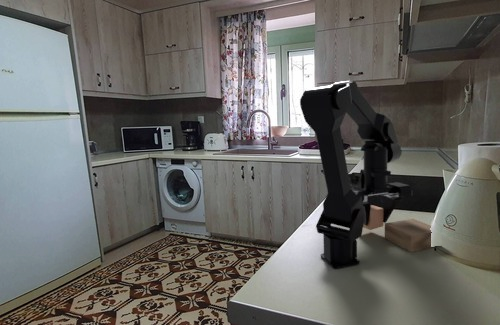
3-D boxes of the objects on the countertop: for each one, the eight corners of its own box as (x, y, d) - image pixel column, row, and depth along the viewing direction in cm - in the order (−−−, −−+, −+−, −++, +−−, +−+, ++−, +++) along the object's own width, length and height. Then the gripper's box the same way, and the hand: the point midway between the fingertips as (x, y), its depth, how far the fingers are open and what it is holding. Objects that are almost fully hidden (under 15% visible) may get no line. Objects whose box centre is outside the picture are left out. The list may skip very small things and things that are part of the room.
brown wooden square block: (410, 252, 69) (411, 235, 69) (384, 237, 78) (384, 223, 77) (441, 246, 71) (442, 230, 71) (413, 232, 80) (413, 218, 79)
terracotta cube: (370, 230, 78) (370, 211, 77) (355, 224, 82) (355, 207, 81) (383, 226, 80) (383, 208, 79) (368, 220, 84) (368, 204, 83)
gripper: (385, 160, 87) (384, 210, 89) (327, 165, 82) (328, 219, 85) (414, 165, 76) (412, 222, 78) (350, 171, 72) (350, 232, 74)
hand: (375, 223), depth 79 cm, fingers closed on terracotta cube, 5 cm apart
